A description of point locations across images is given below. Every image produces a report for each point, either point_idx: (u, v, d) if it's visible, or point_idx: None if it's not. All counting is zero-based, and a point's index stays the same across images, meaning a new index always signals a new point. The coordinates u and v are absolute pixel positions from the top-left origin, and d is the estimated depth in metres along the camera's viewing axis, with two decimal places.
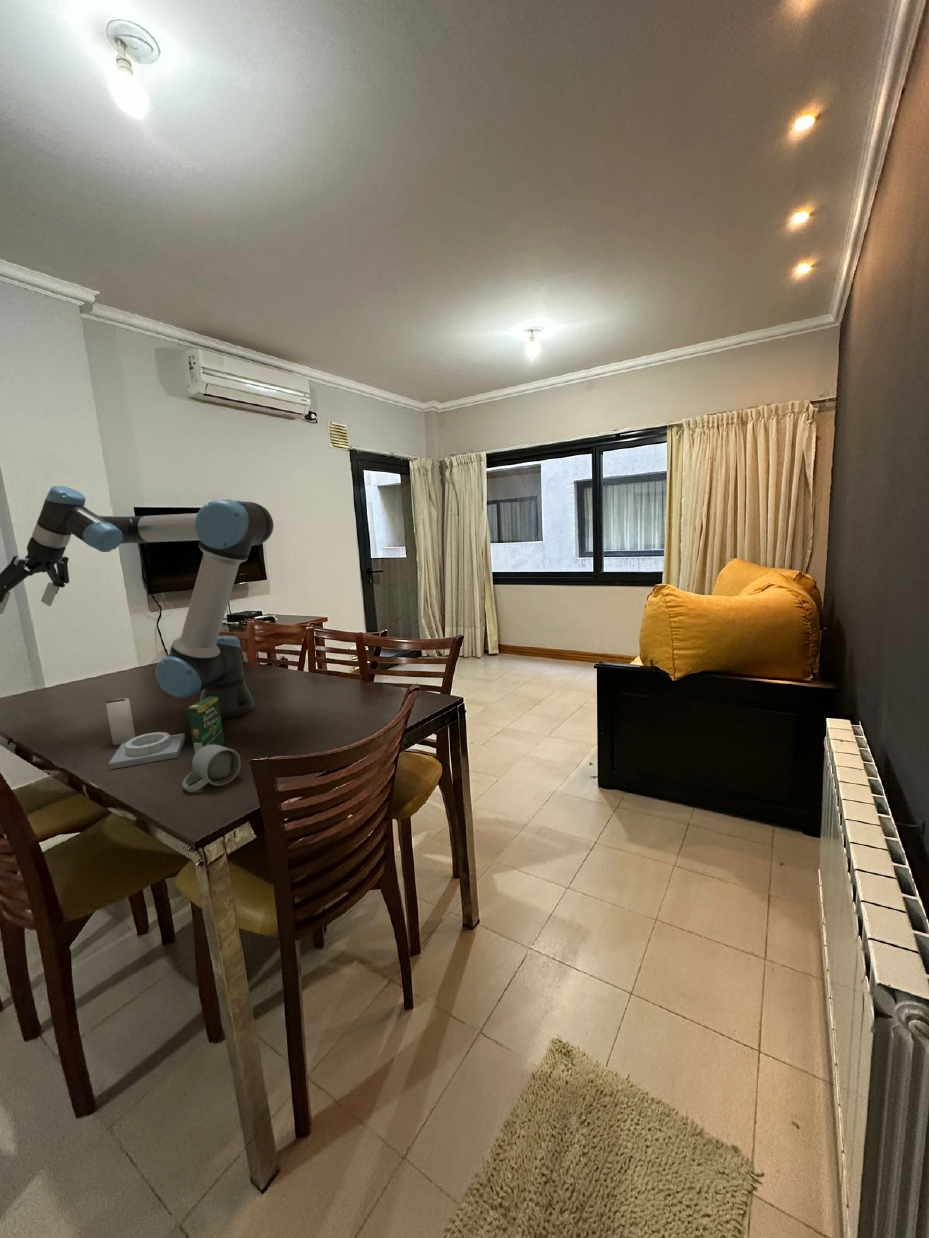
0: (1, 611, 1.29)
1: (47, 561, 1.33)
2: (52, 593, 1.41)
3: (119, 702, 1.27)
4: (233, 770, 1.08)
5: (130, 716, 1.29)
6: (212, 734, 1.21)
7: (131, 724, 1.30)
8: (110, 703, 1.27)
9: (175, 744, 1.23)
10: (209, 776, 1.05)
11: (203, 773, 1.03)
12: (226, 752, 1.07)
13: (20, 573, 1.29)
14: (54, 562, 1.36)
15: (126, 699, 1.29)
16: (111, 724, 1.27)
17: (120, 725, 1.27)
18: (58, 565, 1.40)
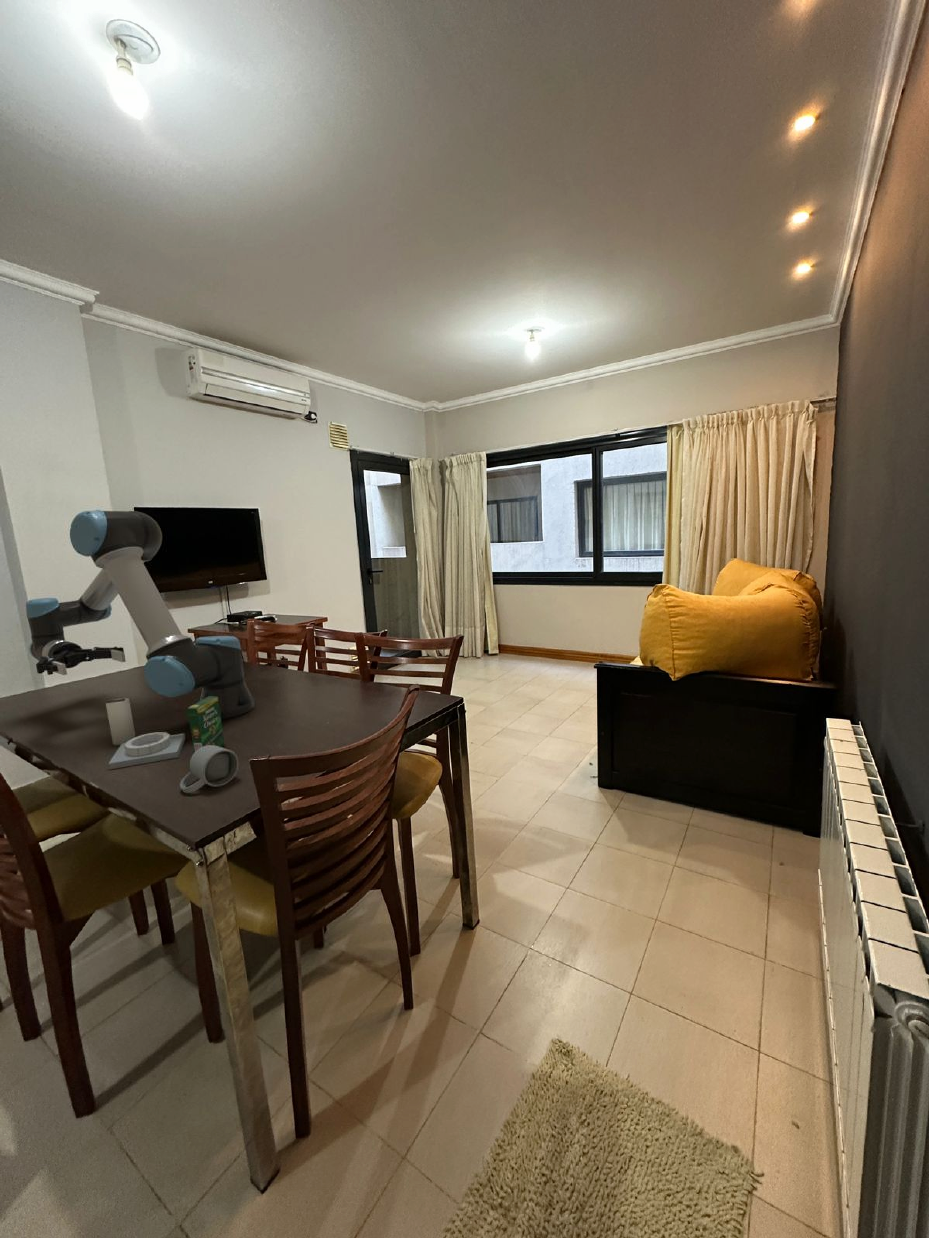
0: (61, 664, 1.26)
1: (73, 652, 1.40)
2: (114, 652, 1.39)
3: (119, 702, 1.27)
4: (231, 770, 1.08)
5: (130, 716, 1.29)
6: (212, 734, 1.21)
7: (131, 724, 1.30)
8: (110, 703, 1.27)
9: (175, 744, 1.23)
10: (207, 777, 1.05)
11: (200, 774, 1.02)
12: (224, 753, 1.07)
13: None
14: None
15: (126, 699, 1.29)
16: (111, 724, 1.27)
17: (120, 725, 1.27)
18: None
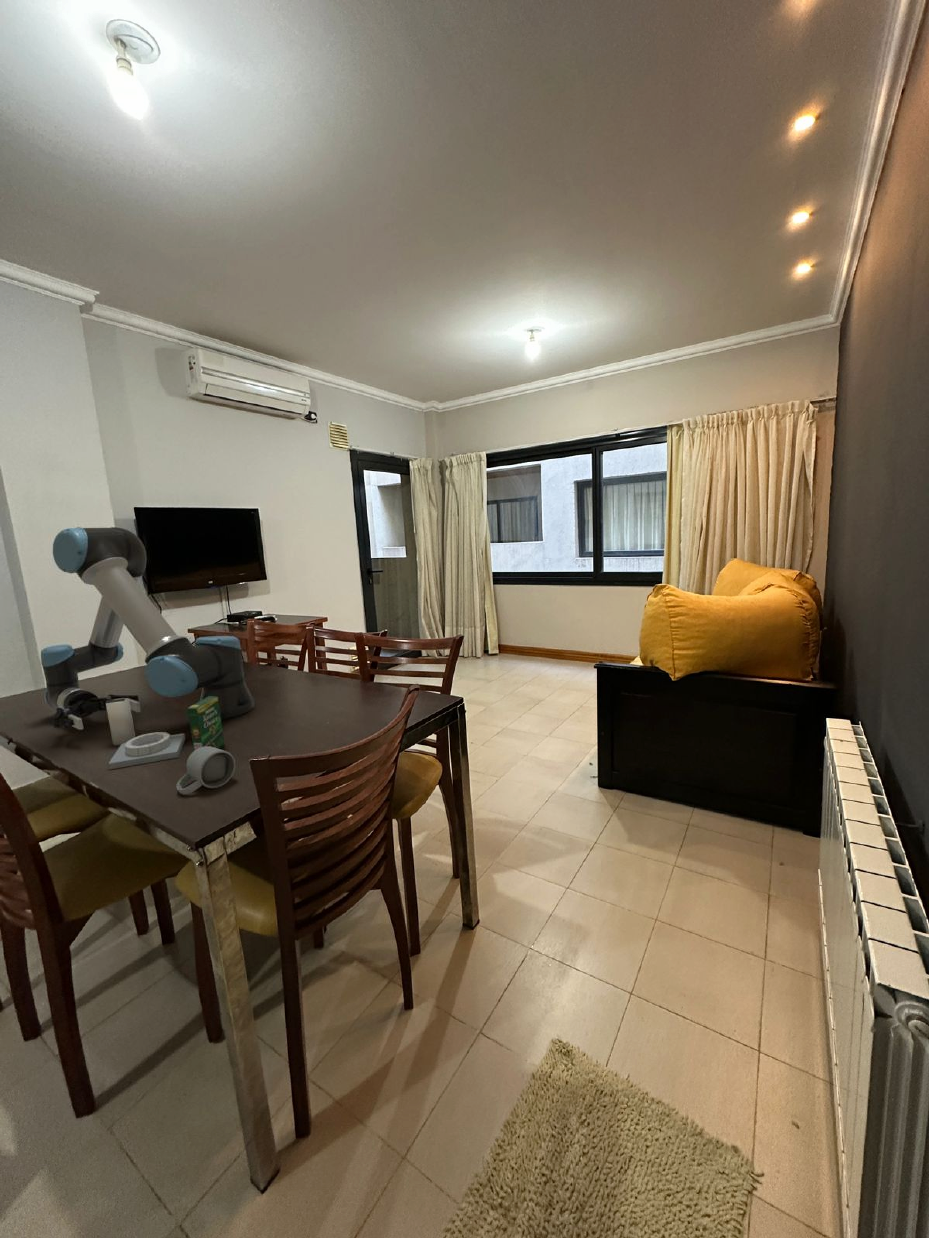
0: (77, 719, 1.26)
1: (88, 701, 1.40)
2: None
3: (119, 702, 1.27)
4: (228, 772, 1.08)
5: (130, 716, 1.29)
6: (212, 734, 1.21)
7: (131, 724, 1.30)
8: (110, 703, 1.27)
9: (175, 744, 1.23)
10: (203, 778, 1.04)
11: (197, 775, 1.02)
12: (220, 754, 1.06)
13: None
14: None
15: (126, 699, 1.29)
16: (111, 724, 1.27)
17: (120, 725, 1.27)
18: None
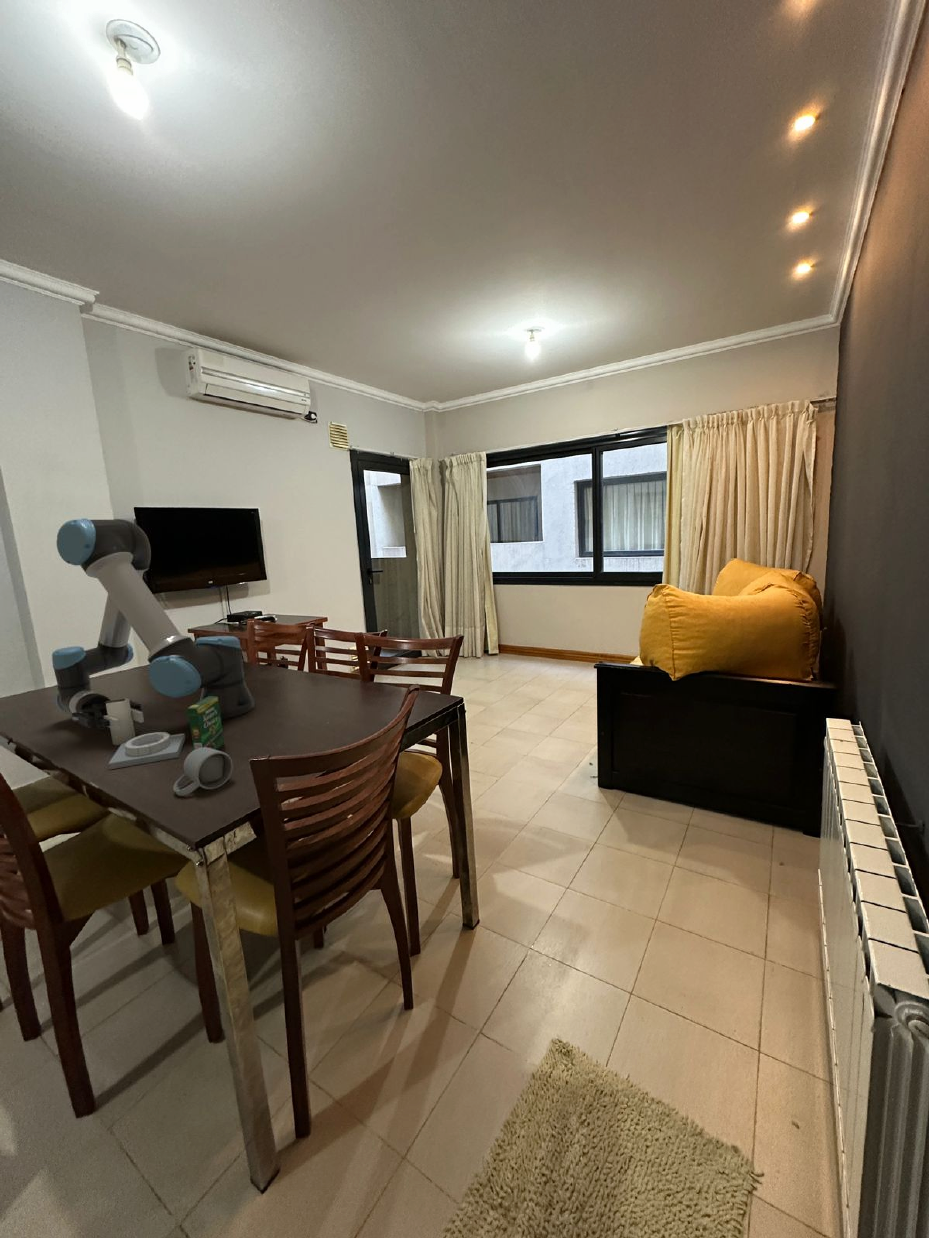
0: (114, 719, 1.24)
1: (101, 704, 1.37)
2: (132, 711, 1.30)
3: (119, 702, 1.27)
4: (225, 773, 1.07)
5: (130, 716, 1.29)
6: (212, 734, 1.21)
7: (131, 724, 1.30)
8: (110, 703, 1.27)
9: (175, 744, 1.23)
10: (200, 779, 1.04)
11: (194, 777, 1.01)
12: (218, 755, 1.06)
13: (94, 715, 1.30)
14: None
15: (126, 699, 1.29)
16: None
17: (120, 725, 1.27)
18: None
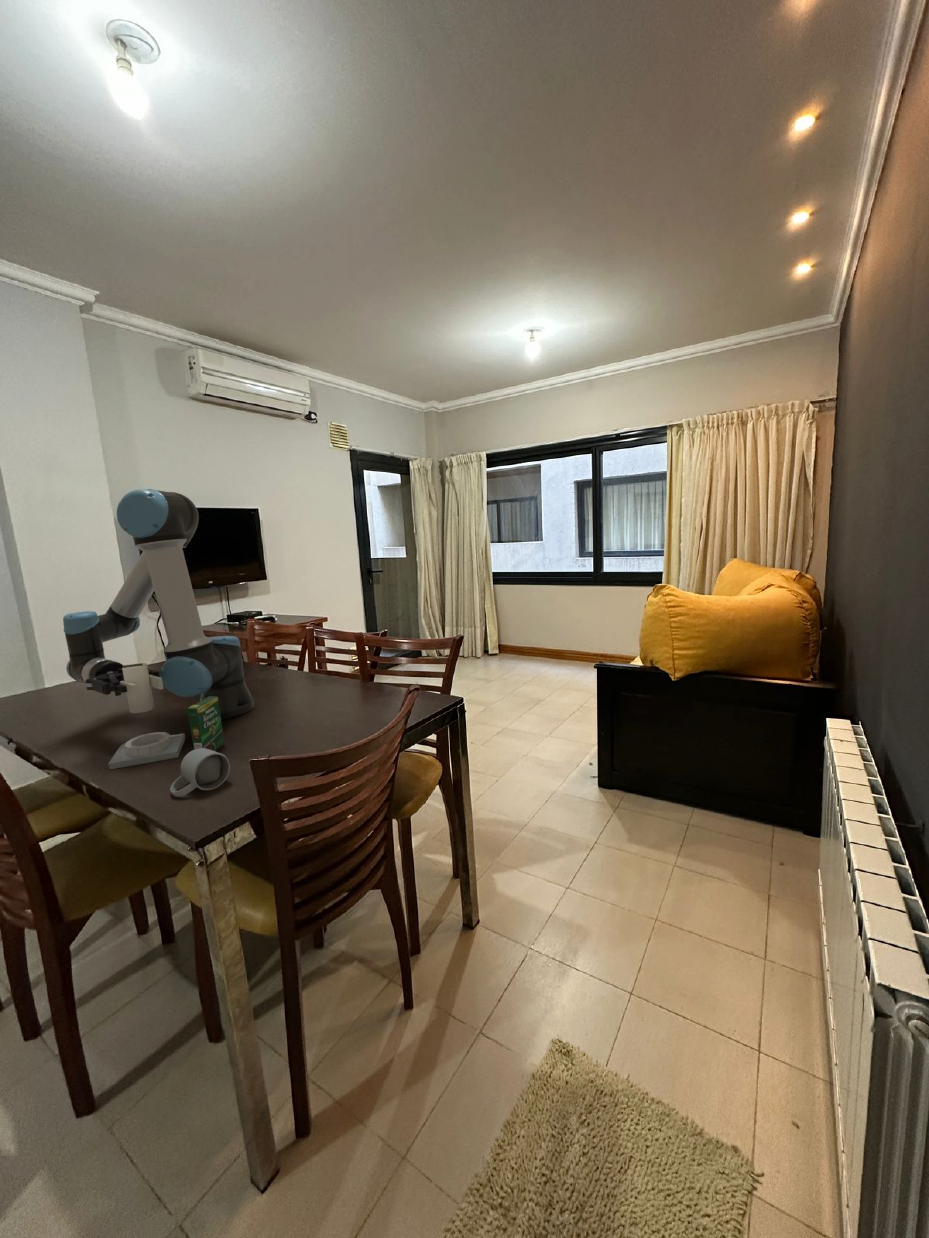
0: (131, 684, 1.14)
1: (116, 671, 1.27)
2: (150, 677, 1.20)
3: (137, 667, 1.17)
4: (222, 774, 1.07)
5: (148, 682, 1.19)
6: (212, 734, 1.21)
7: (149, 691, 1.19)
8: (127, 667, 1.17)
9: (175, 744, 1.23)
10: (197, 780, 1.03)
11: (191, 778, 1.01)
12: (215, 756, 1.06)
13: (110, 682, 1.20)
14: None
15: (144, 664, 1.19)
16: None
17: (138, 691, 1.17)
18: None
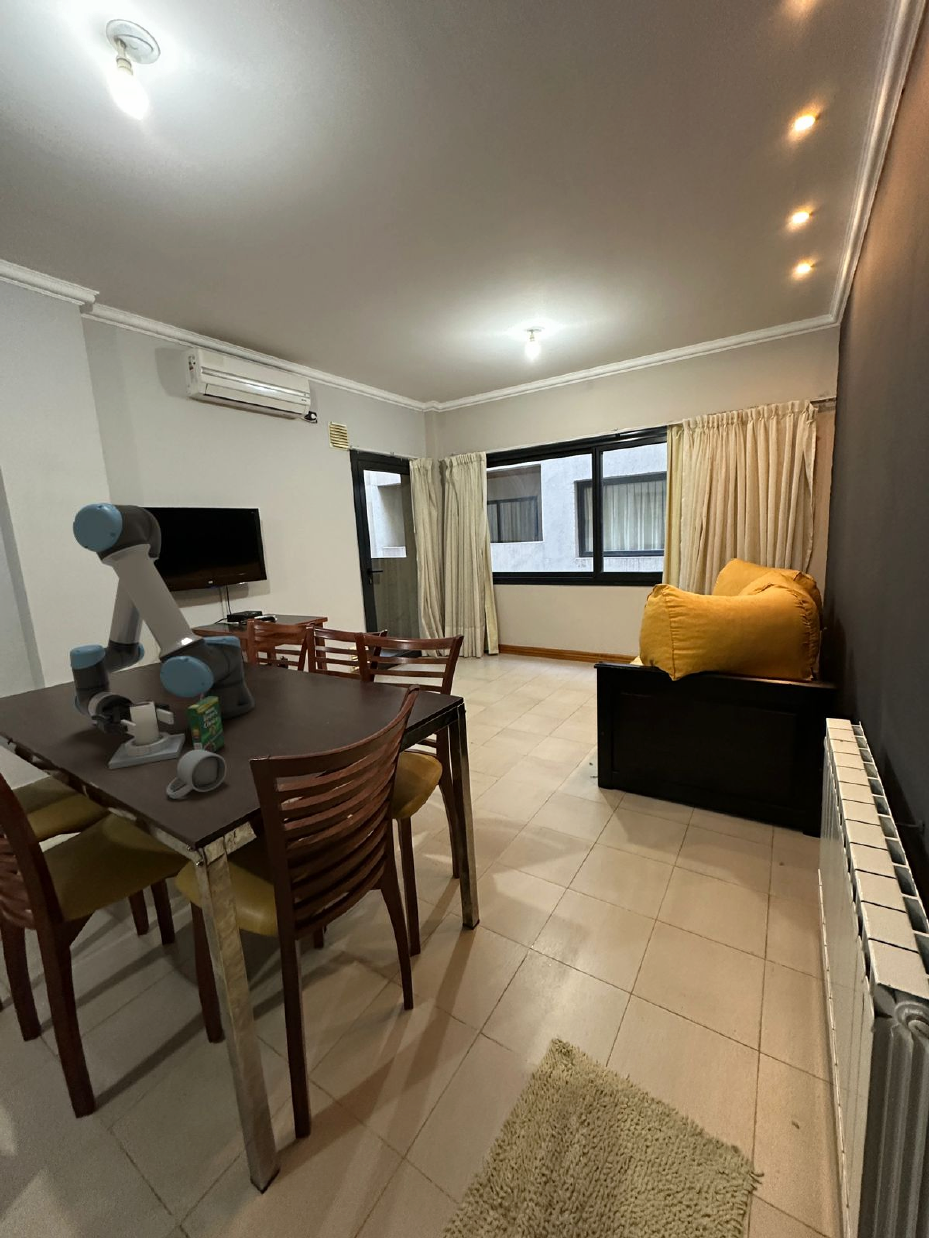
0: (132, 724, 1.15)
1: (122, 706, 1.28)
2: (161, 712, 1.23)
3: (144, 706, 1.19)
4: (219, 775, 1.06)
5: (155, 721, 1.21)
6: (212, 734, 1.21)
7: (156, 729, 1.21)
8: (134, 707, 1.18)
9: (175, 744, 1.23)
10: (194, 782, 1.03)
11: (187, 779, 1.00)
12: (212, 757, 1.05)
13: None
14: None
15: (151, 703, 1.21)
16: None
17: (145, 730, 1.19)
18: None
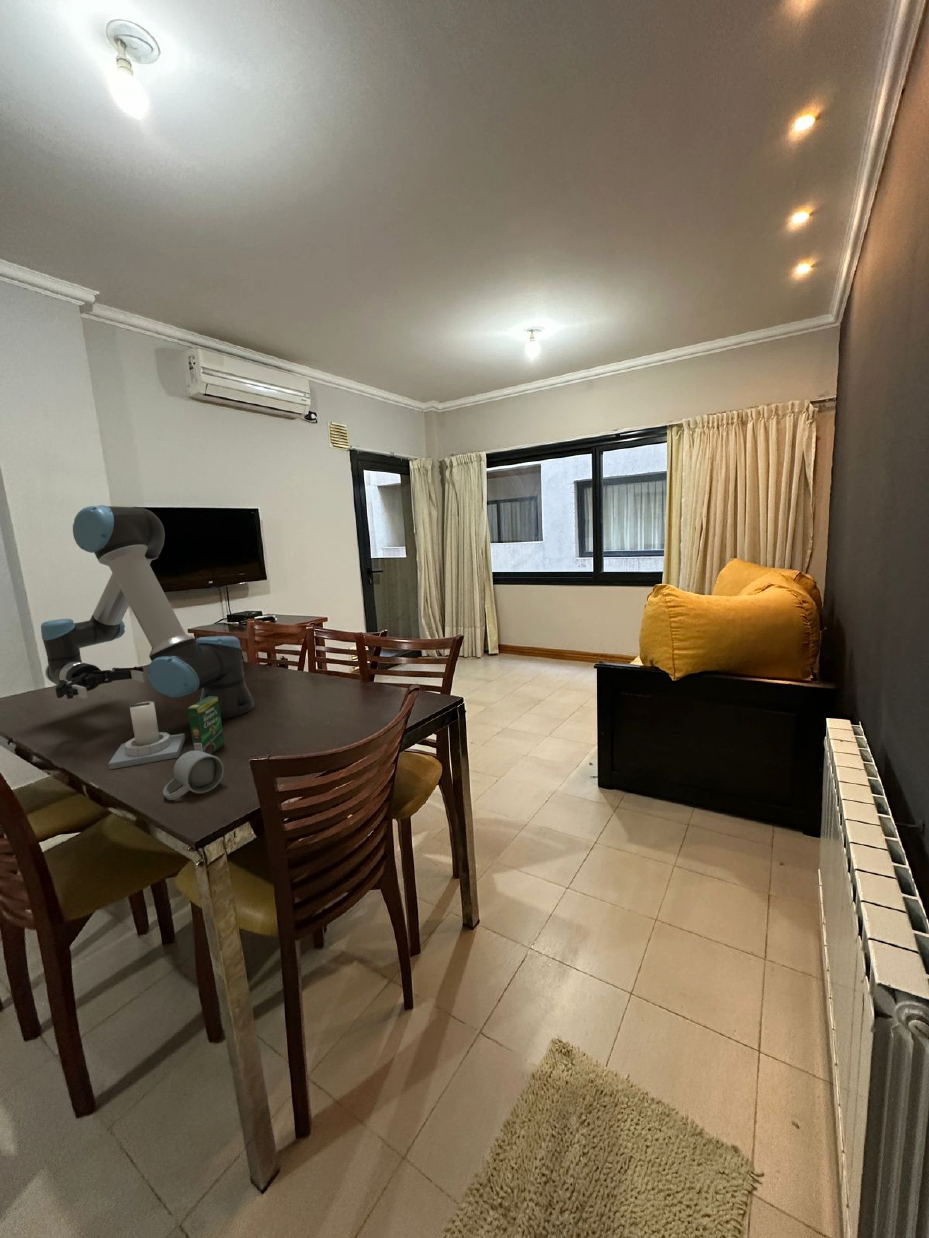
0: (81, 687, 1.21)
1: (91, 674, 1.35)
2: (134, 672, 1.34)
3: (144, 706, 1.19)
4: (216, 777, 1.06)
5: (155, 721, 1.21)
6: (212, 734, 1.21)
7: (156, 729, 1.21)
8: (134, 707, 1.18)
9: (175, 744, 1.23)
10: (191, 783, 1.02)
11: (184, 780, 1.00)
12: (208, 759, 1.05)
13: None
14: None
15: (151, 703, 1.21)
16: (135, 730, 1.19)
17: (145, 730, 1.19)
18: None
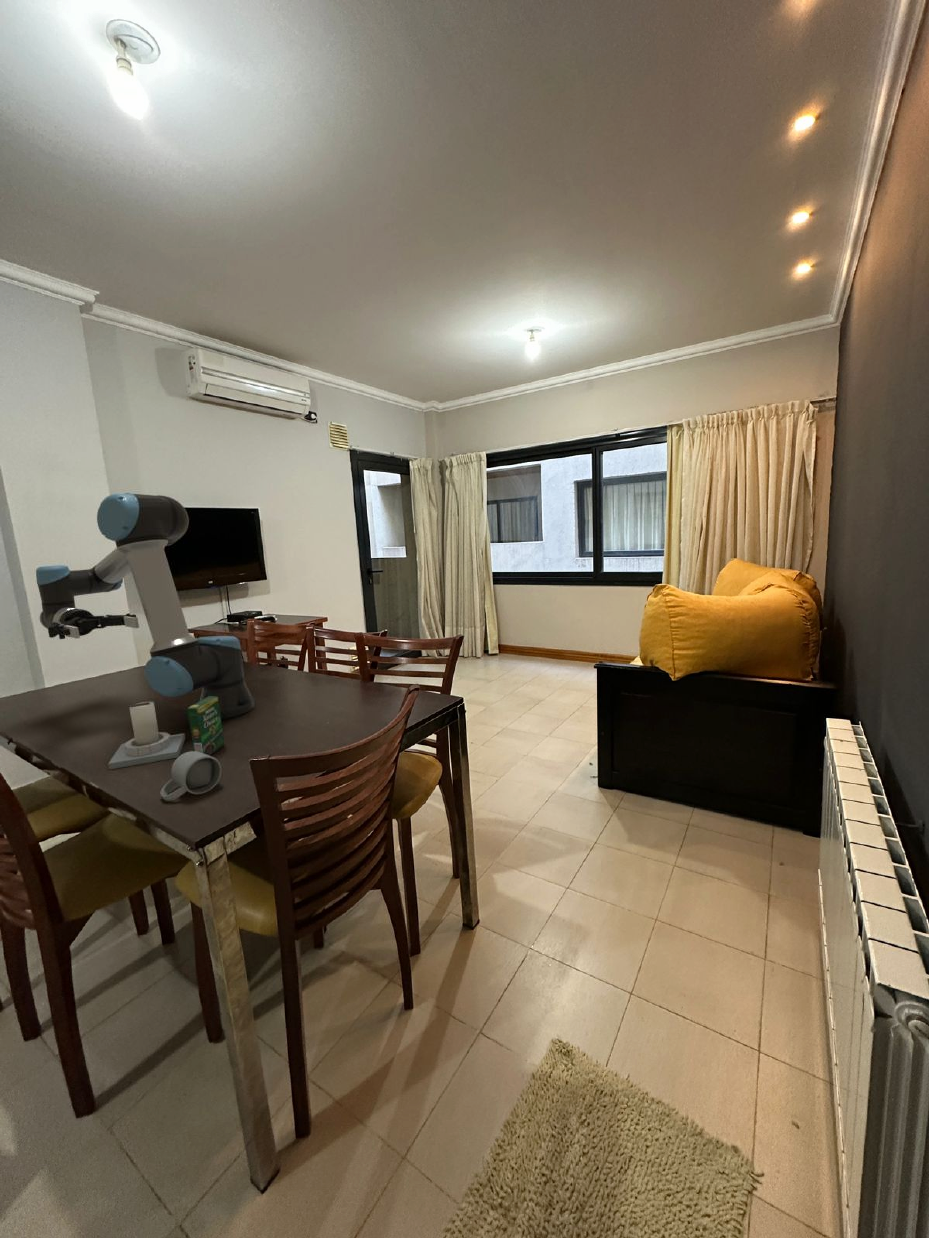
0: (73, 627, 1.22)
1: (85, 618, 1.36)
2: (127, 618, 1.35)
3: (144, 706, 1.19)
4: (214, 777, 1.05)
5: (155, 721, 1.21)
6: (212, 734, 1.21)
7: (156, 729, 1.21)
8: (134, 707, 1.18)
9: (175, 744, 1.23)
10: (188, 784, 1.02)
11: (181, 781, 1.00)
12: (206, 759, 1.04)
13: None
14: None
15: (151, 703, 1.21)
16: (135, 730, 1.19)
17: (145, 730, 1.19)
18: None
